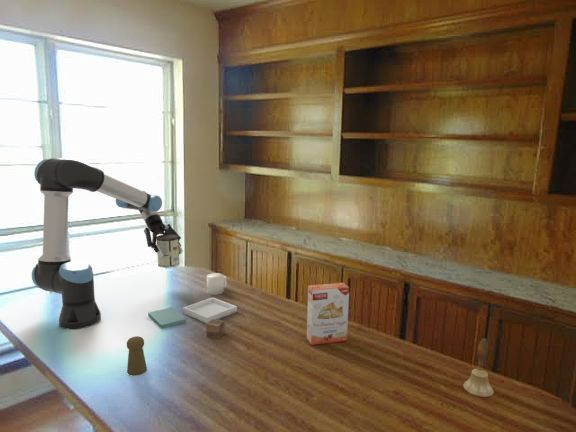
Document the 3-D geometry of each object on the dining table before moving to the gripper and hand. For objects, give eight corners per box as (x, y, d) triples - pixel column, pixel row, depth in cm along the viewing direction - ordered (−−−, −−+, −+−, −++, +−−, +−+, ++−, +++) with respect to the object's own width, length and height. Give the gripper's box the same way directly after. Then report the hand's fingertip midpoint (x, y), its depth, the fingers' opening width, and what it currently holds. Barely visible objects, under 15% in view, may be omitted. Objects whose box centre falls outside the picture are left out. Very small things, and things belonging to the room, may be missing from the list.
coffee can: (162, 261, 214) (161, 233, 212) (182, 262, 213) (181, 234, 211) (154, 267, 204) (152, 238, 202) (175, 268, 203) (174, 239, 201)
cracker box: (311, 346, 153) (312, 290, 149) (306, 338, 159) (307, 284, 155) (348, 341, 157) (349, 286, 153) (341, 334, 162) (343, 281, 159)
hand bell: (485, 381, 132) (489, 332, 129) (499, 397, 124) (504, 345, 121) (458, 381, 131) (462, 332, 129) (470, 397, 123) (475, 345, 120)
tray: (207, 323, 171) (207, 317, 170) (183, 313, 181) (182, 307, 181) (237, 311, 183) (236, 306, 182) (212, 302, 193) (212, 297, 193)
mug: (214, 295, 201) (213, 279, 200) (203, 291, 207) (203, 275, 205) (230, 290, 209) (229, 274, 207) (219, 286, 214) (218, 271, 213)
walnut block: (218, 338, 158) (218, 326, 158) (206, 336, 160) (206, 324, 159) (225, 333, 163) (224, 320, 162) (213, 331, 165) (213, 318, 164)
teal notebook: (161, 330, 166) (161, 325, 166) (148, 317, 178) (148, 312, 178) (185, 323, 172) (185, 318, 172) (171, 311, 184) (171, 307, 184)
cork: (140, 363, 140) (138, 332, 138) (150, 370, 137) (149, 337, 135) (123, 371, 136) (121, 338, 134) (133, 378, 132) (131, 344, 130)
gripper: (133, 216, 202) (153, 254, 195) (174, 211, 219) (194, 246, 212) (128, 226, 207) (147, 264, 199) (168, 220, 224) (188, 254, 216)
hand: (171, 254), depth 206 cm, fingers closed on coffee can, 10 cm apart
